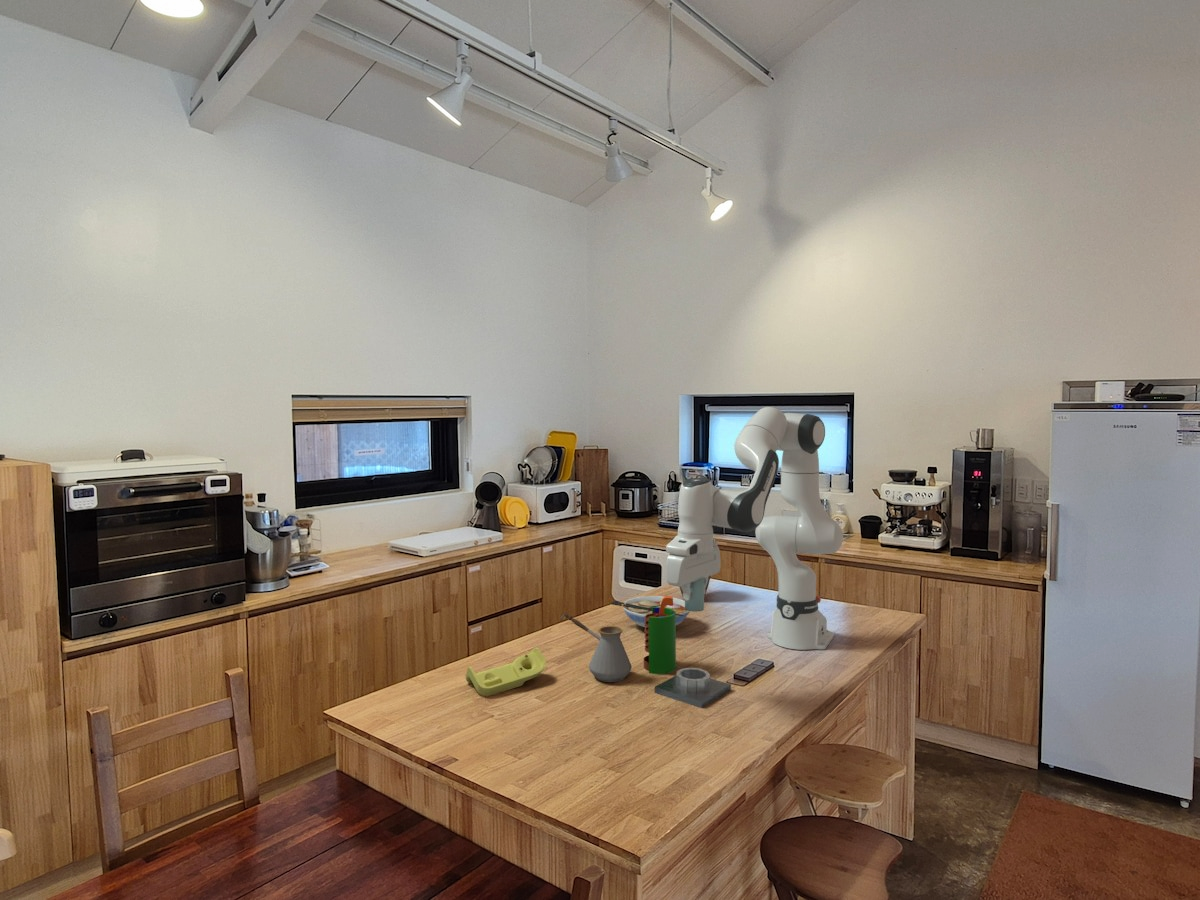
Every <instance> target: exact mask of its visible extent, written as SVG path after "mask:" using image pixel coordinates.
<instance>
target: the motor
mask: <svg viewBox="0 0 1200 900" xmlns="http://www.w3.org/2000/svg"><path fill="white" fill-rule="evenodd" d="M673 598H674V596H669V595H665V597H663V599H662V601H661V605H660V607H652V613H651V614H647V615H645V627H644V633H645V634H644V639H645V640H644V644H645V645H644V651H645V652H647V653H648V654H647V655H646V656H645V657H643V669H645V671H647V672H648V674H650V675H664V674H670V673H672V672H674V671H675V670H676V669H677V656H676V655H677V652H676V651H677V645H676V643H677V642H676V641H677V637H676V636H677V635H676V629H677V627H676V626H677V625H676V612H675V611H674V610H673V609H670V608H665V606H667V605H669V606H673Z"/></svg>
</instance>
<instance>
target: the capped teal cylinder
mask: <svg viewBox="0 0 1200 900" xmlns="http://www.w3.org/2000/svg"><path fill="white" fill-rule="evenodd" d="M689 589H690V592H692V599H690V600H684V601H685V609H686V610H688V611H690V612H696V613H698V612H703V611H704V610H705V596H704V578H701V579H698V580H696V581H694V582H691V584H690V587H689Z"/></svg>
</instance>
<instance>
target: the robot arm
mask: <svg viewBox="0 0 1200 900" xmlns="http://www.w3.org/2000/svg"><path fill="white" fill-rule="evenodd" d="M737 435H738V436H737V437H736V439H735V441H734V454H735V456H736V458H737V459H738V460H739V462H740V463H741V464H742V465H743V466H744V467H746V468H747V469H748V470H750V471H754V475H753V477H752V479H751V482H750V484H749V486H748V488H746V489H745V490H730V489H722V488H719V487H716V486H715V485H713V483H712V481H711V480H710V478H707V477H692V478H687V479H685V480H684V481H683V482H681V485H680V488H679V493H678V501H677V502H678V503H677V505H678V506H677V516H678V519H679V520H678V521H679V524H678V528H677V535H675V537H674V538H673V539H672V540H671V541H670V542H668V543H666V545H665V551H666V553H667V557H666V563H665V567H666V568H665V577H666V582H667V584H668V585H669V586H673V587H674V586H675V587H679V586H680V587H681V589H682V591H683V596H682V598H683V599H682V600H684V599H685V600H690V599H692V592H690V589H689V587H690V584H691V582H694V581H696V580H698V579H701V578H704V594H705V587H706V585H707V582H708V576H711V577H712V576H714V575H716V574H719V573H720V571H721V567H722V566H721V565H722V564H721V551H720V548H719V546H718V541H717V540H716V539H715V538H714V529H713V526H715V527H719V528H726V529H731V530H735V531H739V532H742V533H743V532H744V533H751V532H753V531H755V532H754V533H755V539H756V542H757V544H759V546H760V547H761V548H763V550H765V551H766V552H767V553H768V554H769V555H770V558H771V559H772V560H773V562H774V565H775V566H776V571H777V583H778V585H777V586H778V594H777V595H776V599H775V600H776V601H775V603H776V609H775V610H773V611H772V618H771V629H770V631H769V632H767V634H766V636H767V637H768V638H769V639H770V640H771V641H772V643H773V644H775V645H777V646H779V647H781V648H785V649H791V650H801V651H803V650H804V651H805V650H826V649H827V648H828V646H829V645H830V643H831V642H832V640H833V639H834V637H835V632H833V631H831V630H828V627H827V626H828V625H827V624H828V623H827V617H826V616H825V615H824V614H822V612H821V611H820V610H819V604H820V603H821V601H822V598H821V596H820V595H817V591H816V590H817V575H816V573H815V571H814V570H813V569H812V568H811V567H810V566H809V565H807V564H805V563H803V562H802V561H801V560H800V559H799V558H798V556H797V554H810V555H820V556H821V555H829V554H830V555H831V554H835V553H837V552H838V551H839V550H840V549H841V546H842V545H843V543H844V542H843V541H844V533H843V530H842V527H841V526H840V524H839V523H838V522H837V521H836V520H834V519H833V518H832V517H831V515H829V514H828V513H827V511H826V509H825V508H824V505H823V504H822V501H821V496H820V478H819V477H820V461H819V459H820V458H819V451H818V450H819V449H820V447H821V446H822V445H823V443H824V441H825V437H826V426H825V424H824V422H823V420H822V418H820V417H819V416H818V415H814V414H810V413H806V414H803V413H796V412H783V411H782V410H780V409H779V408H776V407H773V406H765V407H762V408H761V409H759V410H758V411H757V412H755V413H754V414H753V416H751V418H750V419H749V420H748V421H747V422H746V424H745V425H744V426H743V428H742V429H741V430H740V431H739V433H738V434H737ZM777 451H782V458H781V466H780V467H781V469H780V495H781V497H782V499H783V500H784V501H785V502H786V503H787V504H789V505H792V506H793V507H795V508H796V509H797V510H798V511H799V513H800V516H794V515H793V516H792V515H777V514H776V515H768V516H765V510H766V505H767V501H768V498H769V497H770V493H771V490H772V488H773V486H774V482H775V479H776V476H777V474H778V471H779V470H778V469H779V465H780V461H779V460H780V459H779V456H778V453H777ZM680 587H679V588H680ZM705 595H706V594H705ZM685 600H684V601H685Z"/></svg>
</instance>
